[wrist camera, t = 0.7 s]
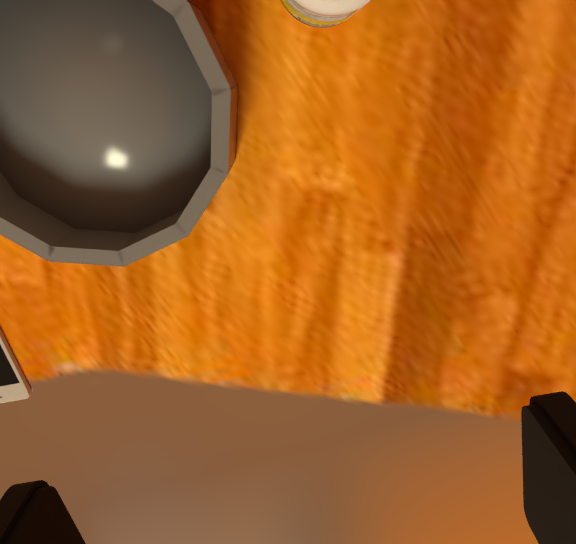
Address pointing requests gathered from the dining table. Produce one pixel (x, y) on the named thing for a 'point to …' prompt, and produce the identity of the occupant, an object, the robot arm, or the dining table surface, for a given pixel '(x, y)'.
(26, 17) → the bowl
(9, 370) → the smartphone
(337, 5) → the supplement bottle
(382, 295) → the dining table surface
